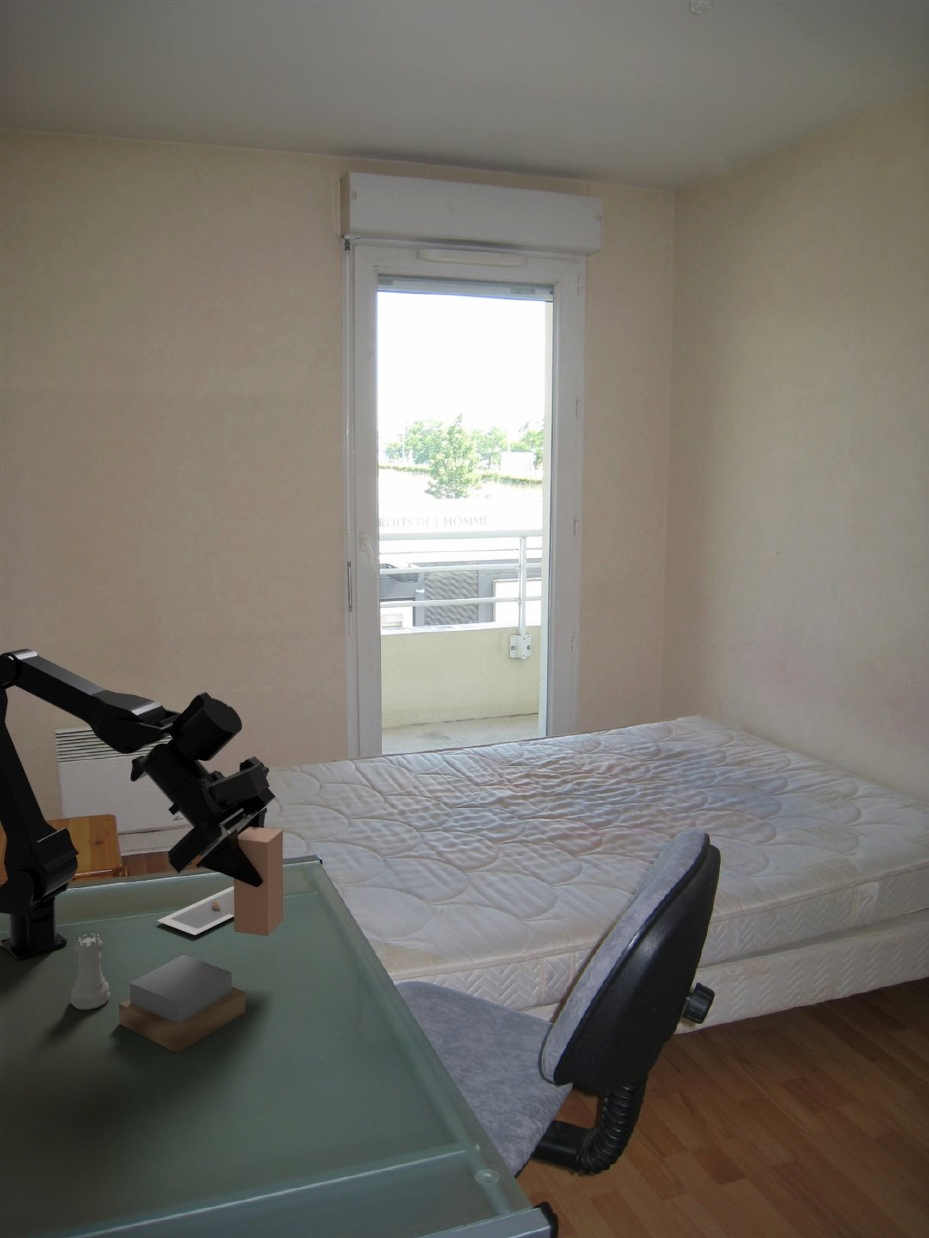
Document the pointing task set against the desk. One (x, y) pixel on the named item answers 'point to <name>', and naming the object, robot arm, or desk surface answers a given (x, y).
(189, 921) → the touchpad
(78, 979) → the rook chess piece
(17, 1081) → the desk surface
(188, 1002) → the tower top
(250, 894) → the pillar
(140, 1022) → the tower base
